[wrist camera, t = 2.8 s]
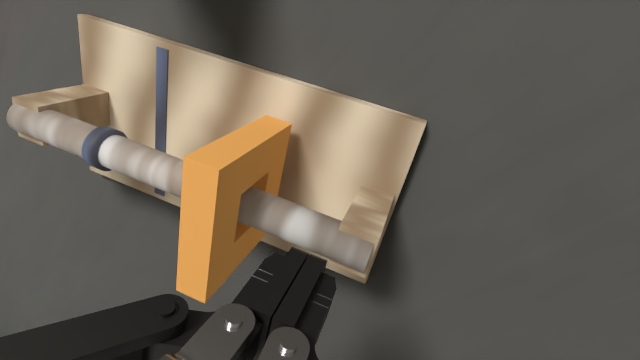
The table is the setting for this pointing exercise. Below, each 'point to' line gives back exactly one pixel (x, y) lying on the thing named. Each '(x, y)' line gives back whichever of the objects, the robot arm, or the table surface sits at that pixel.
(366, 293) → the table surface
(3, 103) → the table surface
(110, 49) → the pipe stand
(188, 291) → the collar
